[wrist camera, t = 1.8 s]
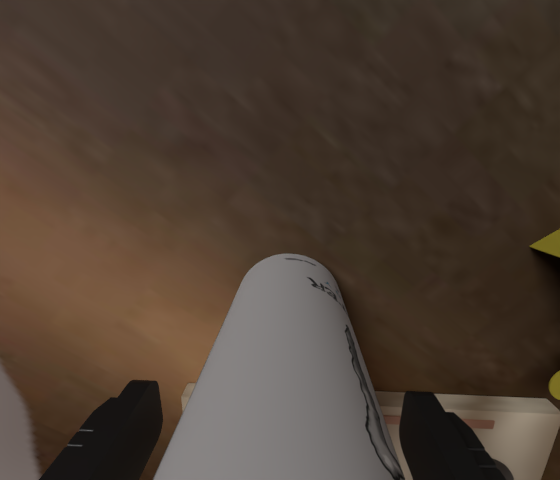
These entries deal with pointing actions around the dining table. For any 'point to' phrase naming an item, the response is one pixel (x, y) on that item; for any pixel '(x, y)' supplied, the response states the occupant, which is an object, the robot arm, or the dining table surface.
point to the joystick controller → (485, 428)
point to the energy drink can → (283, 389)
